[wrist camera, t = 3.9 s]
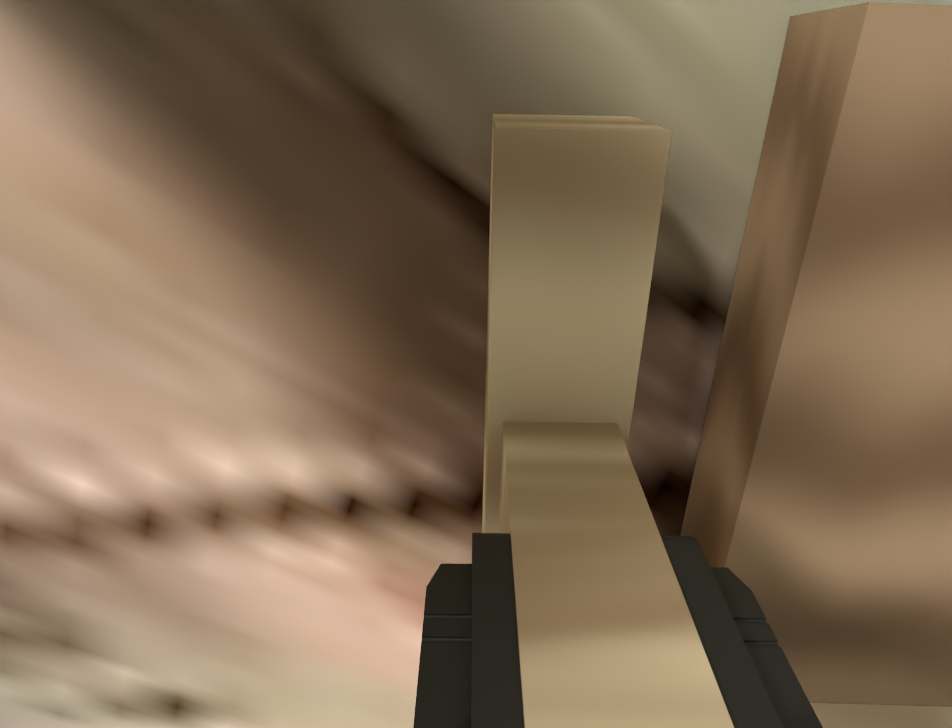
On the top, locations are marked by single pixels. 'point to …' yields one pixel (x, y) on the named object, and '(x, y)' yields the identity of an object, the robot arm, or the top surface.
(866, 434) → the walnut plate
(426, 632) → the robot arm
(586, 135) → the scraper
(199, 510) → the top surface
